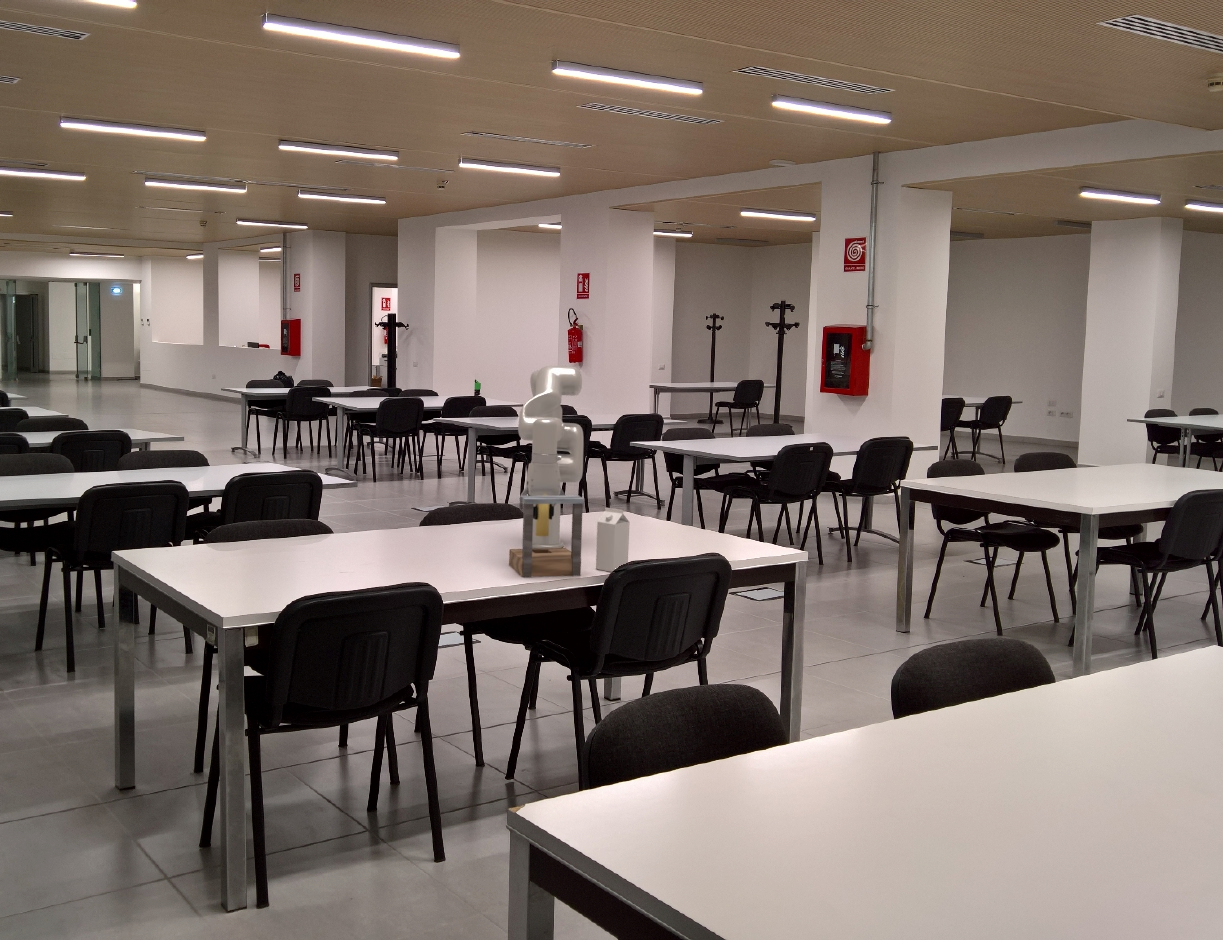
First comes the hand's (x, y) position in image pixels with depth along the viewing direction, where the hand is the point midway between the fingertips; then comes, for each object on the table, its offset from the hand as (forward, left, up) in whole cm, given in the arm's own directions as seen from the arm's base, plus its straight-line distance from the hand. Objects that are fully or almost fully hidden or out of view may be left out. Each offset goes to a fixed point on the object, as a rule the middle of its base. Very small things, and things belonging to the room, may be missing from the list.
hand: (542, 518), depth 344 cm
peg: (0, 0, -5) cm, 5 cm away
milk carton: (+6, +21, -16) cm, 27 cm away
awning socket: (+4, 0, -15) cm, 16 cm away
